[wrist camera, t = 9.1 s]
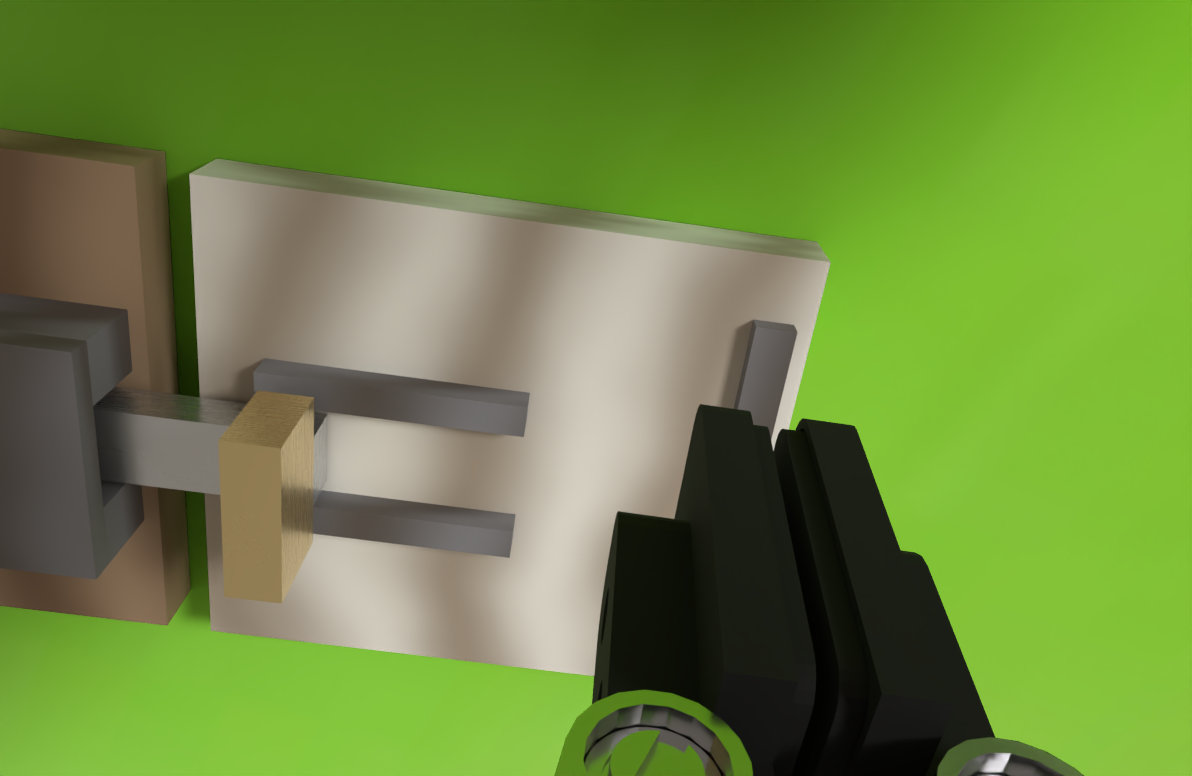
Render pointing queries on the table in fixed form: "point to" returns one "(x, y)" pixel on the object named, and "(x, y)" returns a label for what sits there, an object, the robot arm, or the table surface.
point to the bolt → (227, 471)
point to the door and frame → (375, 389)
